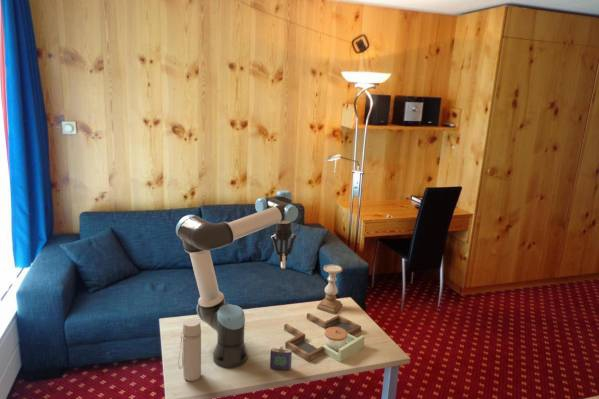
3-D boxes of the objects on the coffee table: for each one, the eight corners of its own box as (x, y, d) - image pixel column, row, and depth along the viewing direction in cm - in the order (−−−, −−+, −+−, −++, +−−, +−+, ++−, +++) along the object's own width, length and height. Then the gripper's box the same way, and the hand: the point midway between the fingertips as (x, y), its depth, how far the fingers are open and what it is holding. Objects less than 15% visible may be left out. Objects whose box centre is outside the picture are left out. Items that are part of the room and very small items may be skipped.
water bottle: (199, 369, 190) (199, 316, 184) (202, 380, 183) (202, 325, 177) (177, 373, 187) (176, 319, 181) (179, 384, 180) (178, 329, 174)
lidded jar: (343, 340, 218) (345, 323, 216) (348, 353, 208) (350, 335, 205) (322, 341, 217) (323, 323, 214) (325, 354, 206) (327, 335, 204)
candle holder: (334, 314, 242) (337, 273, 237) (316, 308, 248) (319, 268, 242) (342, 306, 252) (346, 267, 246) (325, 301, 257) (328, 262, 251)
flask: (291, 367, 195) (292, 345, 193) (290, 371, 192) (291, 349, 190) (270, 365, 196) (271, 344, 193) (269, 370, 193) (270, 348, 190)
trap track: (268, 337, 217) (269, 326, 216) (321, 311, 245) (322, 301, 243) (324, 372, 193) (325, 359, 192) (376, 339, 221) (377, 328, 219)
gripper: (293, 219, 226) (293, 264, 231) (268, 220, 222) (268, 266, 226) (298, 222, 219) (297, 268, 224) (273, 224, 215) (272, 271, 220)
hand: (283, 267), depth 225 cm, fingers closed
